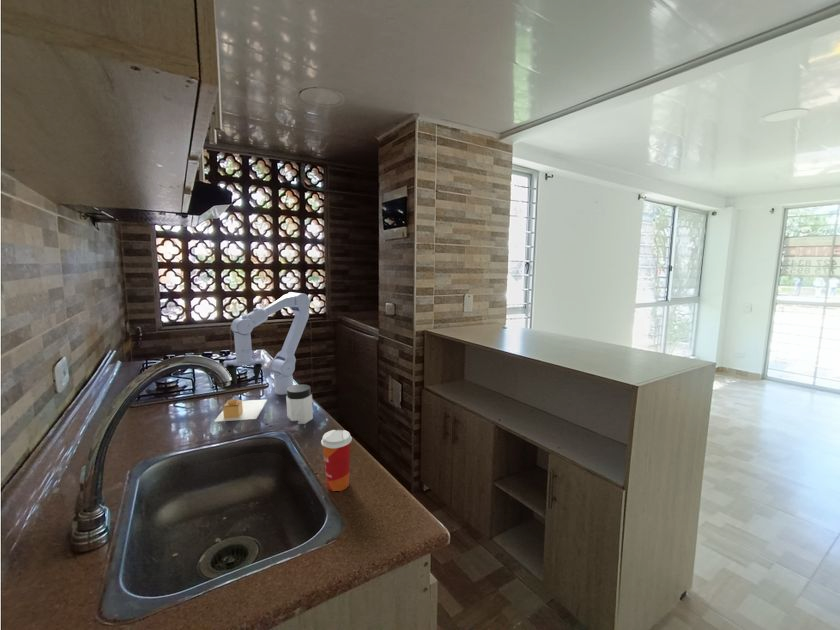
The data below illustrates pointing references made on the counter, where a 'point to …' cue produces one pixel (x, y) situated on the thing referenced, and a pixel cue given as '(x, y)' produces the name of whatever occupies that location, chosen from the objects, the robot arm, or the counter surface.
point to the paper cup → (337, 458)
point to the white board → (246, 411)
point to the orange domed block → (232, 408)
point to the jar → (299, 403)
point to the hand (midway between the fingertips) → (246, 383)
